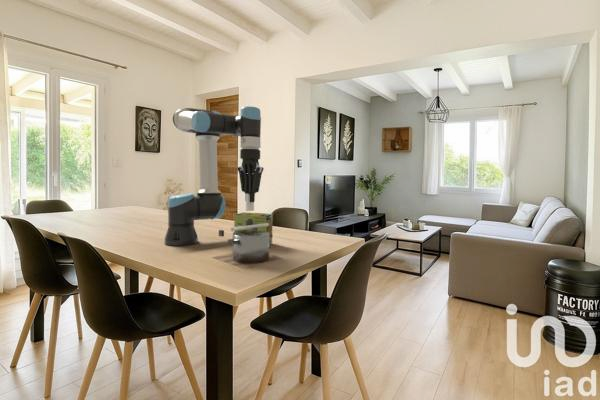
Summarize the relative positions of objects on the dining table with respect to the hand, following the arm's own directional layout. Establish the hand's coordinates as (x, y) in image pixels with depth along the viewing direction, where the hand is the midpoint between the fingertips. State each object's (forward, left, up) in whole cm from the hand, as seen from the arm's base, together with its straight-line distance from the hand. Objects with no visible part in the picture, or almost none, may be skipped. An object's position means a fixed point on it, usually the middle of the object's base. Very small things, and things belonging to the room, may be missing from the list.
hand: (249, 210), depth 128 cm
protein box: (-18, +17, -20) cm, 32 cm away
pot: (+1, 0, -19) cm, 19 cm away
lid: (0, 0, -7) cm, 7 cm away
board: (-1, 0, -20) cm, 20 cm away
